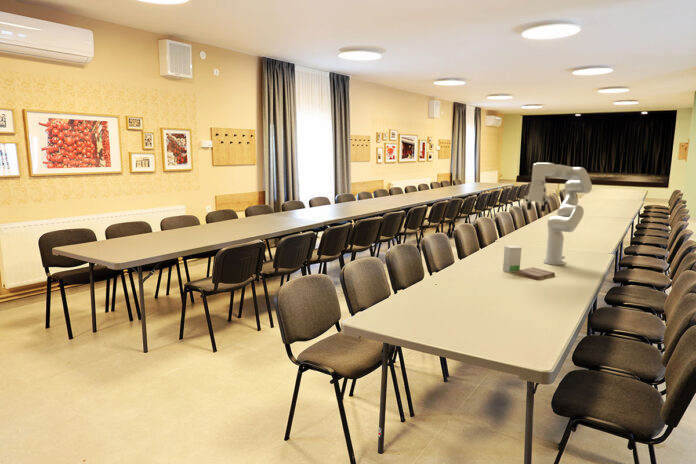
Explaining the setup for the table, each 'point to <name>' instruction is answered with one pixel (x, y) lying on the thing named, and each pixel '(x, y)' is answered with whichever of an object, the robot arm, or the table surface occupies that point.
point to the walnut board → (535, 273)
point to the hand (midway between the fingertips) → (535, 210)
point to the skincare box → (512, 258)
